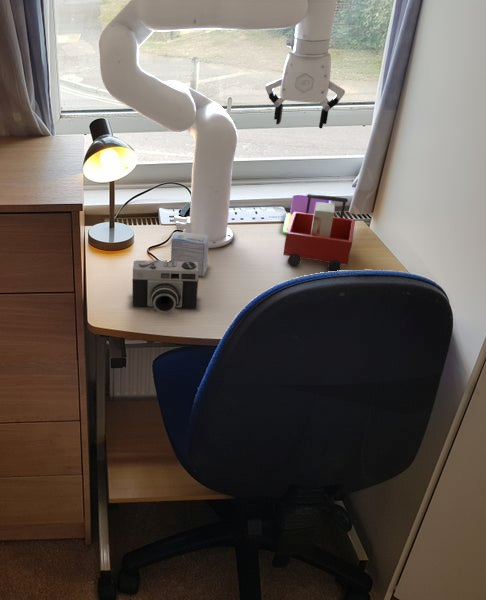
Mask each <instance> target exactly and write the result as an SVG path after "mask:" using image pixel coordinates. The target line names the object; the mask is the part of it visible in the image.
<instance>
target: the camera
mask: <svg viewBox="0 0 486 600" xmlns="http://www.w3.org/2000/svg"><path fill="white" fill-rule="evenodd" d="M131 281H132V307H133V308H145V309H147V308H148V309H155V310H156V311H157V312H159V313H164V314H167V313H171V312H172V311H174V310H197V301H198V287H199V276H198V262H178V261H177V262H176V261H174V262H171V261H168V260H166V259H165V260H160V259H148V260H139V259H137V260H134V261H133V264H132V280H131Z"/></svg>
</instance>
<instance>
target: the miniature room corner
mask: <svg viewBox="0 0 486 600" xmlns="http://www.w3.org/2000/svg"><path fill="white" fill-rule="evenodd" d="M291 198H292V199H291V205H290V212H289V213H286V215H285V218H284V223H283V227H282V234H284V235H286V233H287V230H288V227H289V224H290V221H291V218H292V215H293V212H301V213H306V209H307V203H308V197H307V194H301V193H300V194H299V193H294V194H292V197H291ZM316 202H326V203H333V201H329V200H321V199H313V198H311V201H310V207H309V214H314V210H315V204H316Z"/></svg>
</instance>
